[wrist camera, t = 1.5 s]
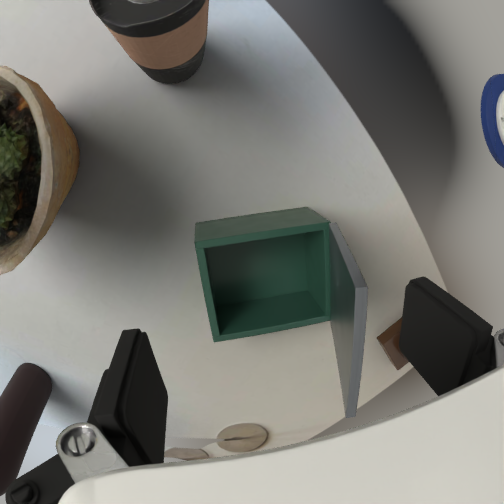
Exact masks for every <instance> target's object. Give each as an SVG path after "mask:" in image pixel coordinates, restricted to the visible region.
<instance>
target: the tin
mask: <svg viewBox="0 0 504 504" xmlns="http://www.w3.org/2000/svg"><path fill="white" fill-rule="evenodd" d="M329 223H331V222H330V221H329V220H327V219H325V218H324V217H322V216H321V215H319V214H317V213H316V212H314V211H313V210H311V209H309V208H308V207H303V208H295V209H287V210H280V211H273V212H266V213H258V214H251V215H244V216H238V217H231V218H224V219H218V220H211V221H205V222H198V223H196V226H195V248H196V254H197V259H198V265H199V270H200V276H201V281H202V286H203V292H204V297H205V302H206V307H207V312H208V317H209V322H210V327H211V331H212V336H213V341H214V342H219V341H225V340H232V339H238V338H244V337H249V336H255V335H261V334H266V333H271V332H277V331H282V330H287V329H292V328H297V327H302V326H307V325H311V324H316V323H321V322H325V321H330V317H331V299H330V247H329Z"/></svg>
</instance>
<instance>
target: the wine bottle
mask: <svg viewBox="0 0 504 504" xmlns="http://www.w3.org/2000/svg"><path fill="white" fill-rule="evenodd" d="M51 392H52V382H51V380H50V378H49V376H48V375H47V374H46V373H45V372H44V371H43V370H42V369H41V368H39V367H38V366H36V365H33V364H30V363H24V364H22V365H20V366H19V367H18V369H17V370H16V372H15V373H14V375H13V376H12V378H11V380H10V381H9V383H8V385H7V386H6V388H5V390H4V391H3V393H2V395H1V396H0V496H1V495H3V494H4V493H6V491H7V488H8V487H9V485H10V484H11V483H12V482H13V481H14V480H16V478H17V476H18V473H19V470H20V467H21V465H22V462H23V459H24V457H25V454H26V451H27V449H28V446H29V444H30V441H31V438H32V436H33V433H34V431H35V429H36V426H37V424H38V422H39V419H40V417H41V415H42V412H43V410H44V408H45V405H46V403H47V401H48V399H49V397H50V394H51Z"/></svg>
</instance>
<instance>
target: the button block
mask: <svg viewBox="0 0 504 504" xmlns="http://www.w3.org/2000/svg"><path fill="white" fill-rule="evenodd" d="M401 324H402V318H401V319H399V320H398V321H397V322H396V323H394V324H393V325H392V326H391V327H390V328H388V329H387V330H386V331H385V332H383V333H382V334H381V335H380V336H378V337H377V339H378V341H379V342H380V344H381V346H382V347H383V349H384V351H385V352H386V354H387V356H388V357H389V359H390V361H391V362H392V364H393V365H394V366H395V368H396V369H397V370H399V369H400V368H402V367H403V366H404V365H406V364H407V363H408V362H409V361H408V359H407V358H406V357H405V356H404V355H403V354H402V352H401V351H400V349H399V338H400V331H401Z"/></svg>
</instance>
